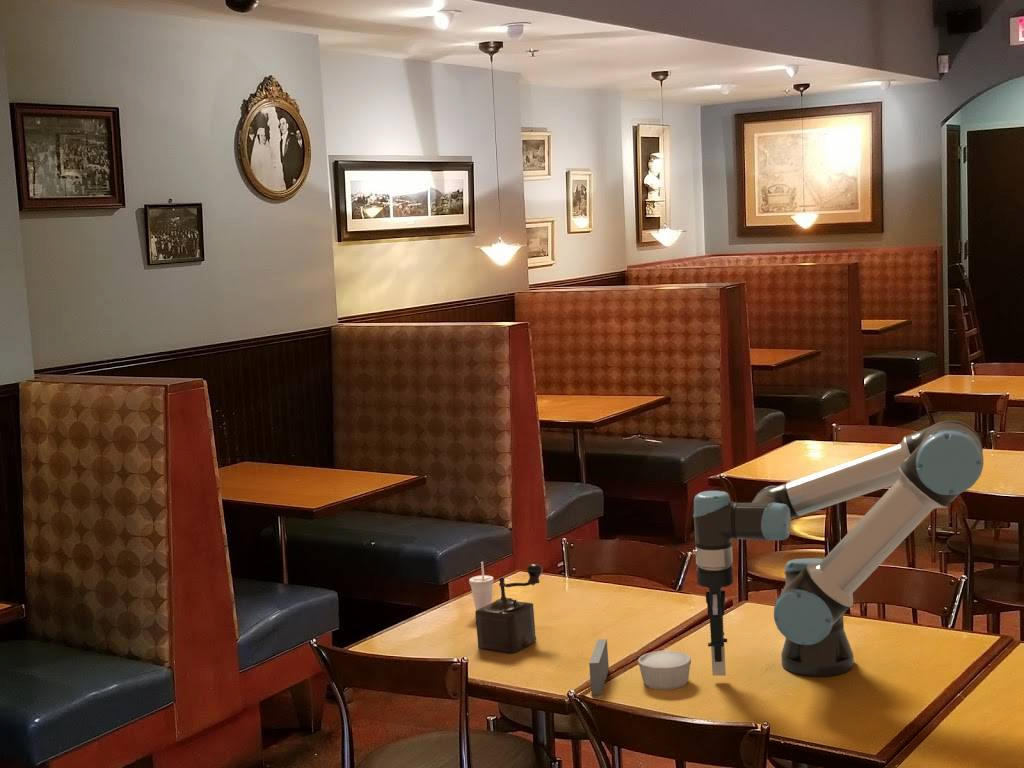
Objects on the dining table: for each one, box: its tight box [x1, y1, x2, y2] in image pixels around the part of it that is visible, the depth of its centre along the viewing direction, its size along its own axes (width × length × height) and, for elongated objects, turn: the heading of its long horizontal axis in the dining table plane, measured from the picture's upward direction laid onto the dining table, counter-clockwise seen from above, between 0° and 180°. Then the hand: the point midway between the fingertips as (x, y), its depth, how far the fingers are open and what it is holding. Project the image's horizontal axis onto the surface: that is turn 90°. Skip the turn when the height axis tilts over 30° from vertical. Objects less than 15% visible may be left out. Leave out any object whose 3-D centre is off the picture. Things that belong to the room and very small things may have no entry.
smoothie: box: [468, 561, 495, 611], centre depth 315 cm, size 6×6×14 cm
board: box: [588, 638, 610, 696], centre depth 262 cm, size 2×15×7 cm, turn 169°
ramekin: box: [637, 650, 692, 691], centre depth 259 cm, size 11×11×5 cm
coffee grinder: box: [475, 563, 544, 655], centre depth 292 cm, size 16×11×18 cm
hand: (719, 674), depth 257 cm, fingers closed
